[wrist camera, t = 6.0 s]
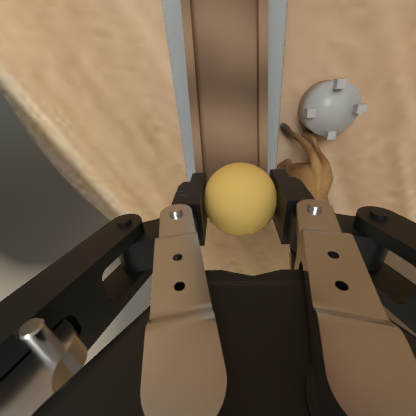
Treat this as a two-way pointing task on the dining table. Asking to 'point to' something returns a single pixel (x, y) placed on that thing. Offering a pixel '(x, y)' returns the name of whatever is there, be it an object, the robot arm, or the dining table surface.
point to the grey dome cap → (330, 107)
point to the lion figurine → (310, 165)
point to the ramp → (227, 81)
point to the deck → (179, 74)
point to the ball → (240, 199)
